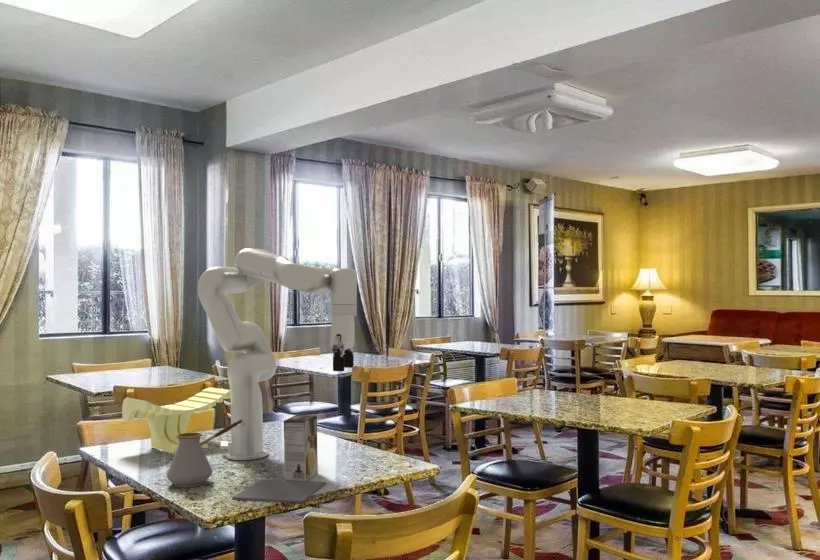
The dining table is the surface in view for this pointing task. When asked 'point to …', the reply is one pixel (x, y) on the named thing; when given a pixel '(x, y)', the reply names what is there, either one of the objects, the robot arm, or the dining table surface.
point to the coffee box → (300, 447)
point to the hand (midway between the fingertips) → (343, 369)
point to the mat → (280, 490)
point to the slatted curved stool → (171, 416)
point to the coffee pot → (192, 459)
